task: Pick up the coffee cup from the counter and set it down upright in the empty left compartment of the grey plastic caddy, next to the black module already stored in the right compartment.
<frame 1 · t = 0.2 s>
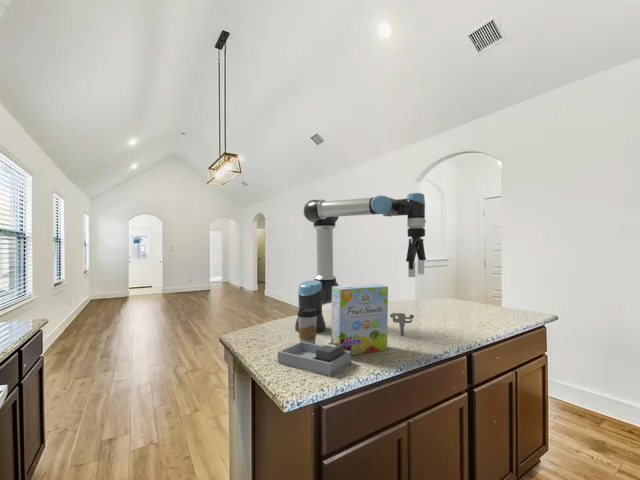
hand: (416, 275, 144), 28 cm above the worktop, fingers open, 13 cm apart
module: (330, 366, 111), resting on caddy
caddy: (314, 362, 115), on the worktop
mechanical component: (402, 336, 147), on the worktop
snack box: (359, 351, 127), on the worktop
coffee cup: (307, 346, 134), on the worktop
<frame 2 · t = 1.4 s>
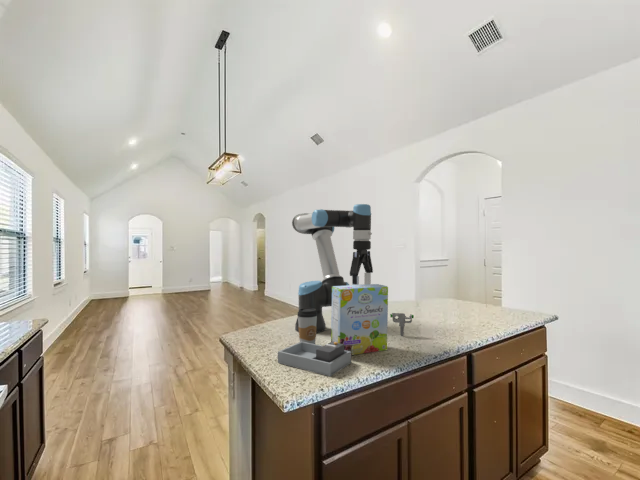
hand: (361, 289, 139), 22 cm above the worktop, fingers open, 13 cm apart
nothing on the worktop moved.
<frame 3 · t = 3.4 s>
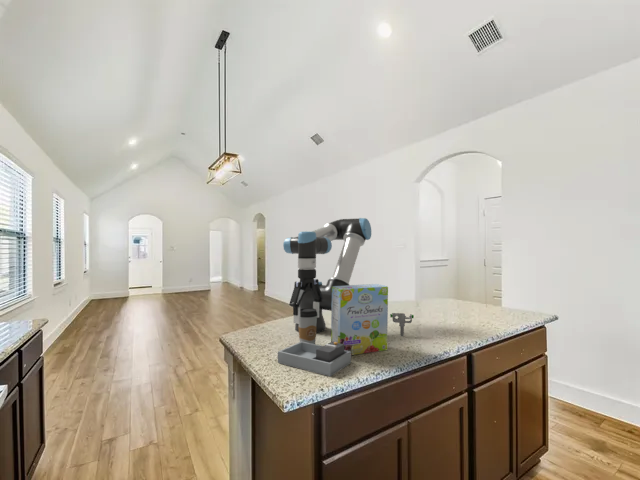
hand: (306, 320, 133), 11 cm above the worktop, fingers open, 13 cm apart
nothing on the worktop moved.
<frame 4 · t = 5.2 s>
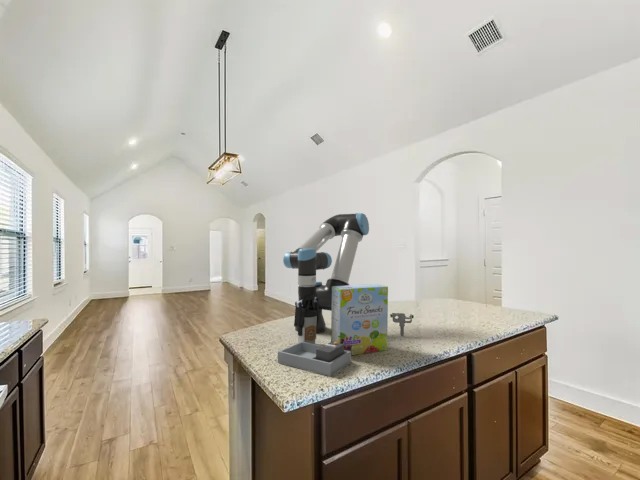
hand: (307, 340, 134), 2 cm above the worktop, fingers closed on coffee cup, 7 cm apart
coffee cup: (307, 346, 134), on the worktop, touching gripper
everything else where it was.
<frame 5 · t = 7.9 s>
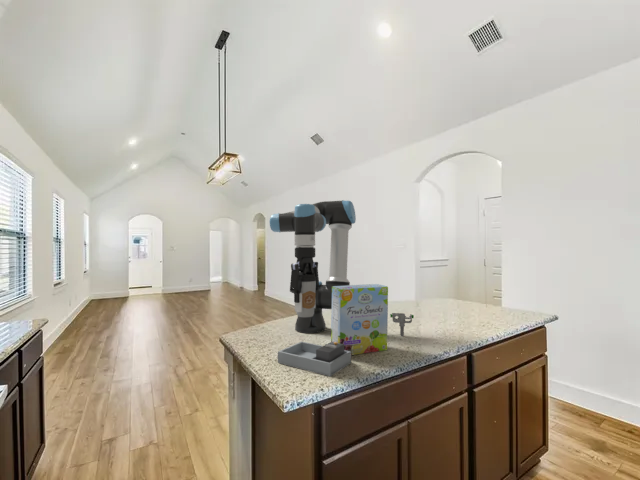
hand: (305, 309, 117), 18 cm above the worktop, fingers closed on coffee cup, 7 cm apart
coffee cup: (305, 316, 117), point 16 cm above the worktop, touching gripper
everything else where it was.
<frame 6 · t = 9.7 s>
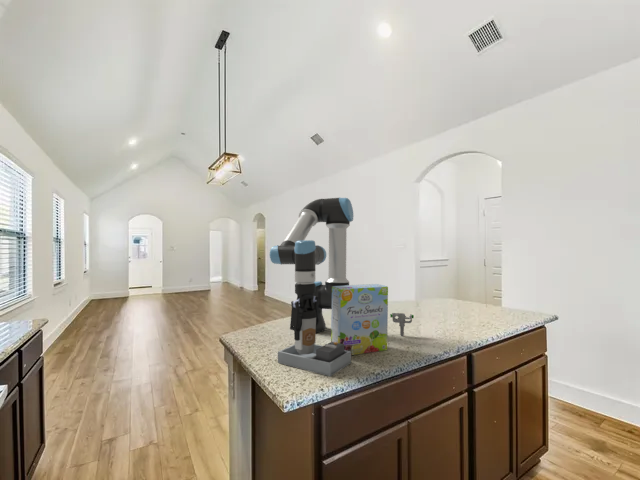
hand: (305, 345, 117), 5 cm above the worktop, fingers closed on coffee cup, 7 cm apart
coffee cup: (305, 352, 117), point 3 cm above the worktop, touching gripper
everything else where it was.
when the fingers open (5 cm above the worktop, at t = 10.8 s): coffee cup stays where it is, resting on caddy.
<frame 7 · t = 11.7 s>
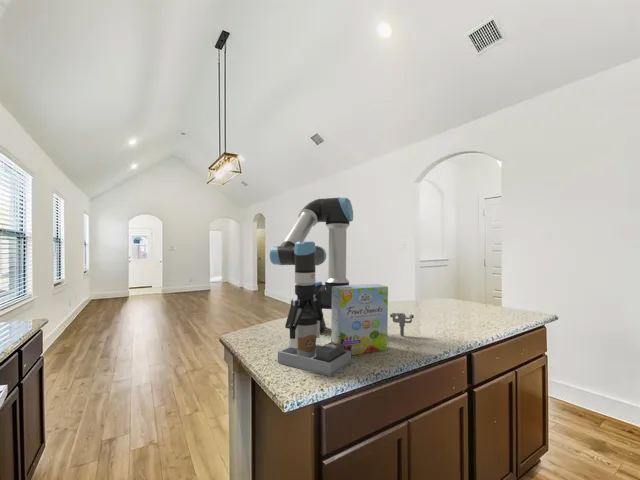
hand: (305, 342, 117), 7 cm above the worktop, fingers open, 13 cm apart
coffee cup: (306, 358, 117), point 1 cm above the worktop, touching caddy
everything else where it was.
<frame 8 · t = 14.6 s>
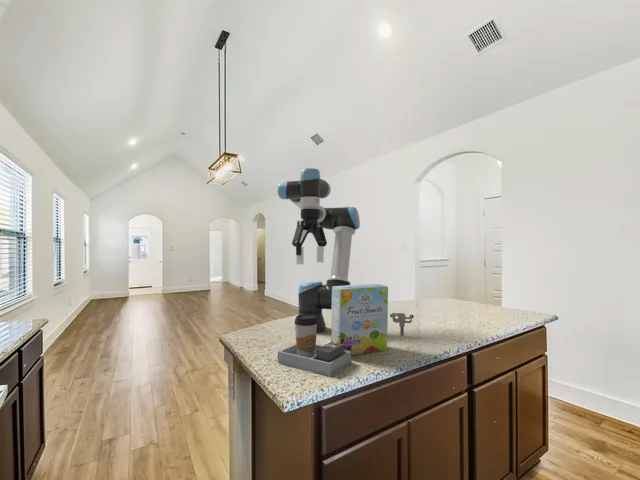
hand: (310, 263, 126), 35 cm above the worktop, fingers open, 13 cm apart
nothing on the worktop moved.
at the end: coffee cup inside the target area on the caddy (0.4 cm from its centre), point 0.6 cm above the caddy's base; coffee cup tilted 0°; the gripper is holding nothing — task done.
